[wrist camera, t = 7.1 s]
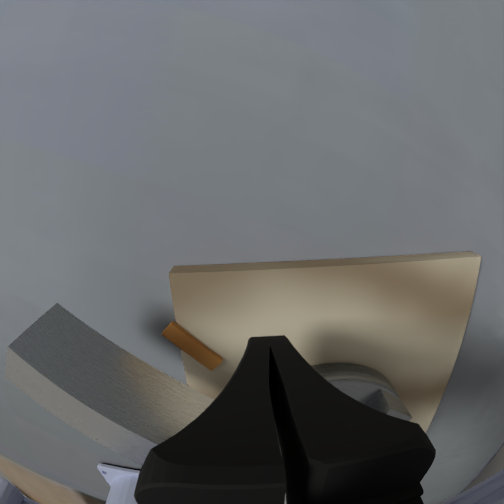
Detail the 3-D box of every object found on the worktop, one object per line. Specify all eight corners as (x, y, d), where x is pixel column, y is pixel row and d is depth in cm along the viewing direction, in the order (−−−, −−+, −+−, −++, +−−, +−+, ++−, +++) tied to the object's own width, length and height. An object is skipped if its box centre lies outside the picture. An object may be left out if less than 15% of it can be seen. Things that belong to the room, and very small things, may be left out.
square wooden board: (412, 441, 18) (418, 452, 17) (202, 468, 18) (201, 481, 17) (470, 251, 14) (484, 257, 13) (159, 266, 14) (151, 276, 12)
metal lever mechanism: (423, 395, 15) (465, 458, 10) (320, 480, 17) (334, 541, 12) (114, 208, 12) (30, 243, 6) (53, 359, 14) (3, 423, 8)
